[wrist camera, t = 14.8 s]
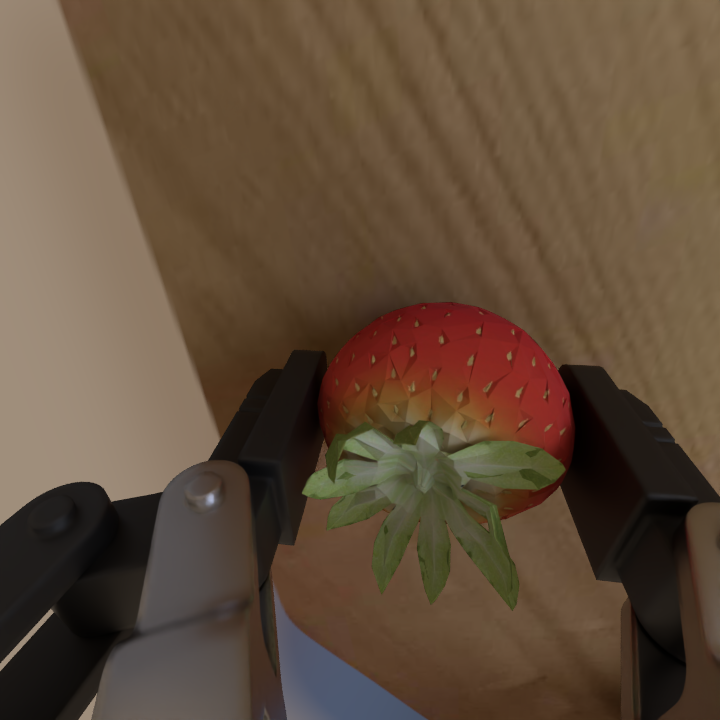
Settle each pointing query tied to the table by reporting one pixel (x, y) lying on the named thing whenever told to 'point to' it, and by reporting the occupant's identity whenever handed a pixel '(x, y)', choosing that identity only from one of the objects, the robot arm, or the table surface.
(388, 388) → the fruit
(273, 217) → the table surface
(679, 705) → the robot arm
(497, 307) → the table surface
